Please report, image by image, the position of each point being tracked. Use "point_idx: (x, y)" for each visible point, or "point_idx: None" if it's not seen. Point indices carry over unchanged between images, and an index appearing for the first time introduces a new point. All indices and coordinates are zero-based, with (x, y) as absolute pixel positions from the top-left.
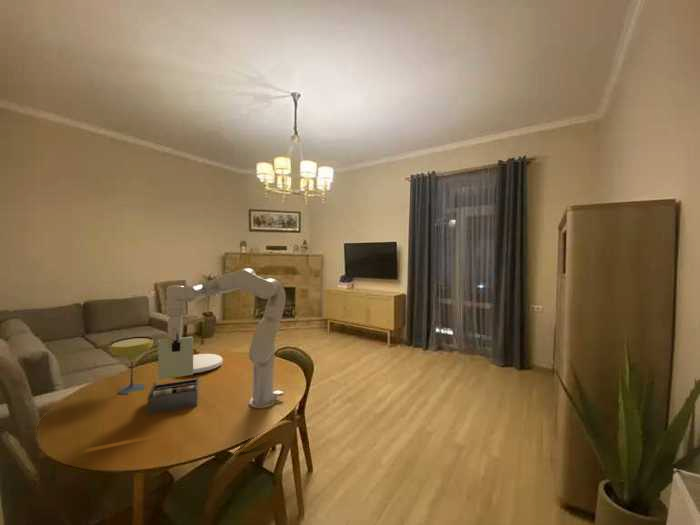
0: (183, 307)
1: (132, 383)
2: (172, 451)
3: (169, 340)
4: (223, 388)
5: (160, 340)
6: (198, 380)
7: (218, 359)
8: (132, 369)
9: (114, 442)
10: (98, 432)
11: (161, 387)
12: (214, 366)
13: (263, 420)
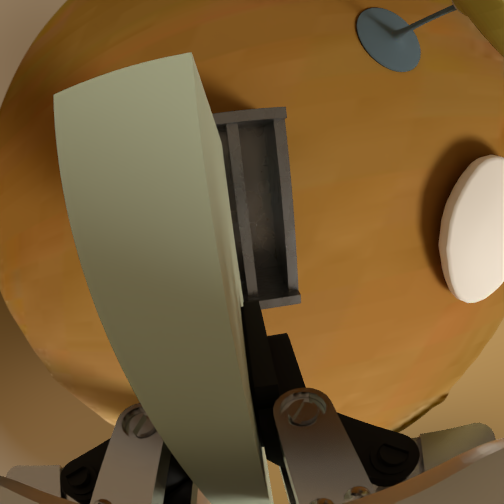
0: None
1: (399, 34)
2: (11, 263)
3: (158, 414)
4: (301, 335)
5: (81, 175)
6: (265, 306)
7: (477, 295)
8: (433, 18)
9: (47, 111)
10: (106, 39)
11: (273, 143)
12: (450, 288)
13: (109, 409)
